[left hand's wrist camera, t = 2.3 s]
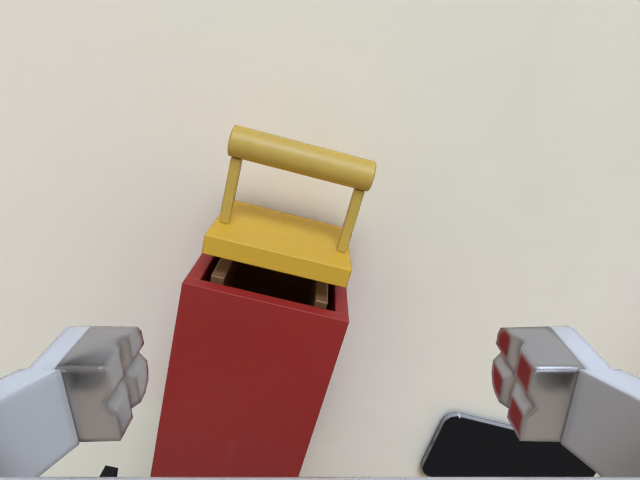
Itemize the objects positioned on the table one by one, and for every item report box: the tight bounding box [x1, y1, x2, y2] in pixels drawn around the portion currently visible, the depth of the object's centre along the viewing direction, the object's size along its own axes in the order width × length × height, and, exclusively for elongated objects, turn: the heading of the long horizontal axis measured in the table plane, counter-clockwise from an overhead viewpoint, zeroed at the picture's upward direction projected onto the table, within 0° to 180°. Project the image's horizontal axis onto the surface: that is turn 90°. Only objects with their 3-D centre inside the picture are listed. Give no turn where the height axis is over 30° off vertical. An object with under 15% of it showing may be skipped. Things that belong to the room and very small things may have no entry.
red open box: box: [151, 253, 349, 477], centre depth 33 cm, size 18×10×9 cm, turn 165°
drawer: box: [202, 125, 376, 309], centre depth 31 cm, size 23×9×7 cm, turn 165°
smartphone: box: [422, 413, 596, 477], centre depth 41 cm, size 7×1×15 cm
